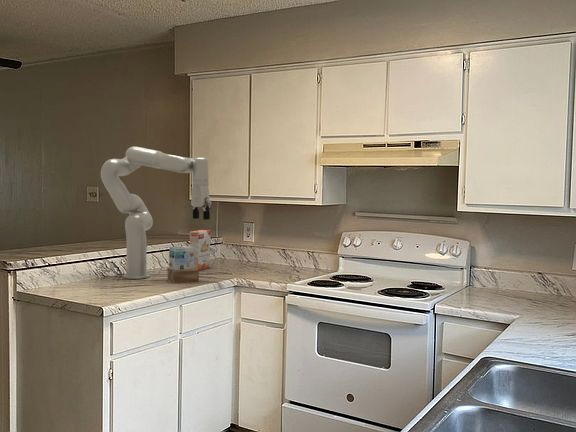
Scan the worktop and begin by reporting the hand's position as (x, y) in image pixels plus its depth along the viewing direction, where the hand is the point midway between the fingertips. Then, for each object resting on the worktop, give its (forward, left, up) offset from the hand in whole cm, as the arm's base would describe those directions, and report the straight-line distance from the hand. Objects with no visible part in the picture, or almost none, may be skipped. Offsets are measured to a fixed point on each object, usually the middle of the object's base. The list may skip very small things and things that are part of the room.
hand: (201, 219), depth 288 cm
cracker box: (-30, +18, -30) cm, 46 cm away
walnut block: (-4, -8, -30) cm, 31 cm away
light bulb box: (-5, -8, -25) cm, 26 cm away
